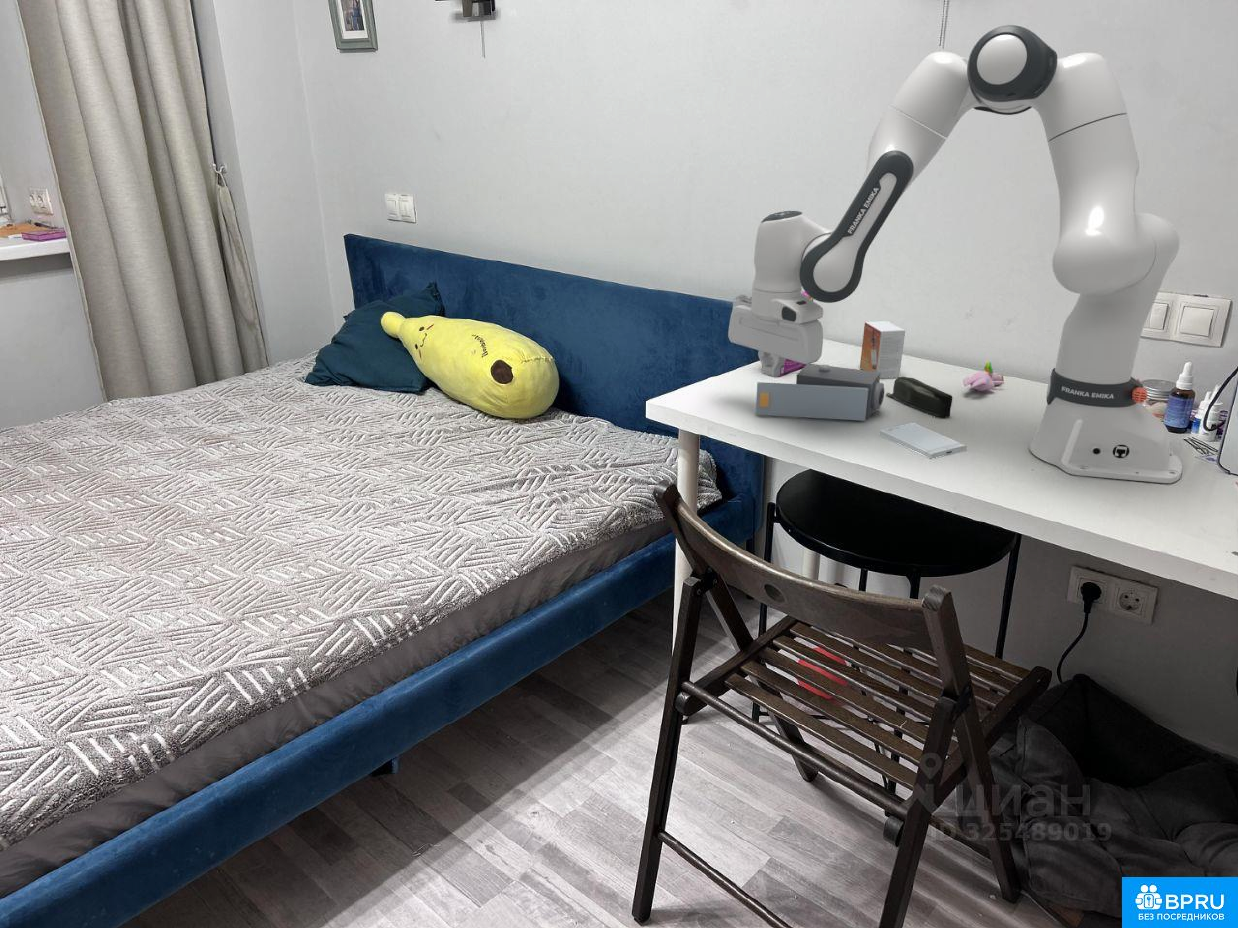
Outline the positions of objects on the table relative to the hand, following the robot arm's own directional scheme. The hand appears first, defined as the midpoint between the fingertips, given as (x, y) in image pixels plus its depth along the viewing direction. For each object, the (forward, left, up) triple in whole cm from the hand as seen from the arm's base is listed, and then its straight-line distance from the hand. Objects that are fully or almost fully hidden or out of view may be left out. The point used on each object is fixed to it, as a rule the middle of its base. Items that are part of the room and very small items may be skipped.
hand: (770, 375), depth 170 cm
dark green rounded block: (-25, -14, -8) cm, 30 cm away
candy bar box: (+5, -27, -7) cm, 28 cm away
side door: (-8, +1, -7) cm, 11 cm away
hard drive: (-29, +4, -8) cm, 31 cm away
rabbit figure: (-35, -30, -7) cm, 47 cm away
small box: (-14, -33, -7) cm, 36 cm away
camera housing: (-11, -7, -7) cm, 15 cm away
